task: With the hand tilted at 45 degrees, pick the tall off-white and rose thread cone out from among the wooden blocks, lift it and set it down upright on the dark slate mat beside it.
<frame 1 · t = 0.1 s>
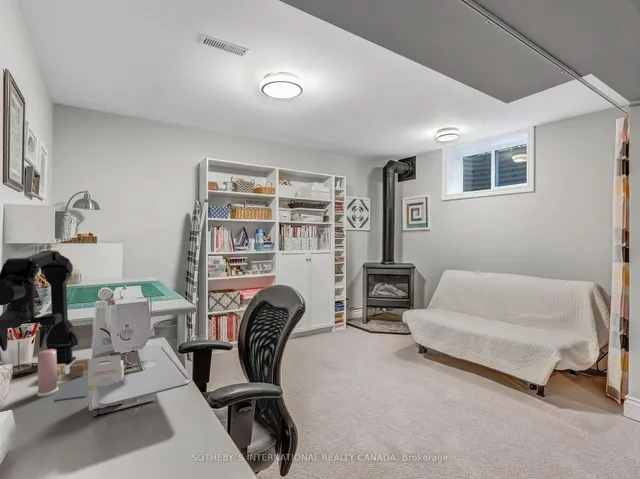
hand: (23, 348, 102), 15 cm above the table, tool pointing down, fingers open, 9 cm apart
birch block: (53, 378, 115), on the table
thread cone: (47, 392, 105), on the table
slate mat: (79, 388, 107), on the table
walnut block: (79, 373, 119), on the table
ink cartridge box: (107, 404, 97), on the table
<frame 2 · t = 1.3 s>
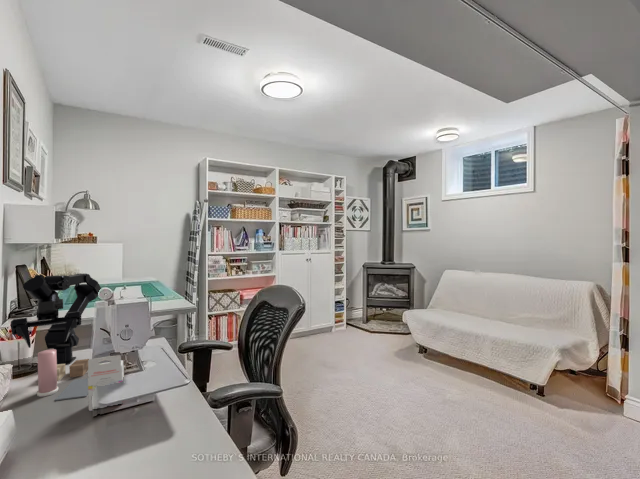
hand: (47, 344, 110), 13 cm above the table, tool tilted 45°, fingers open, 9 cm apart
nothing on the table moved.
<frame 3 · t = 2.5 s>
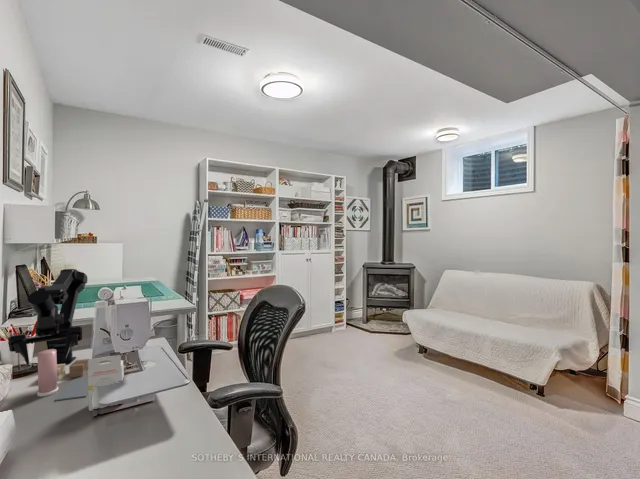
hand: (47, 361, 106), 9 cm above the table, tool tilted 45°, fingers open, 9 cm apart
nothing on the table moved.
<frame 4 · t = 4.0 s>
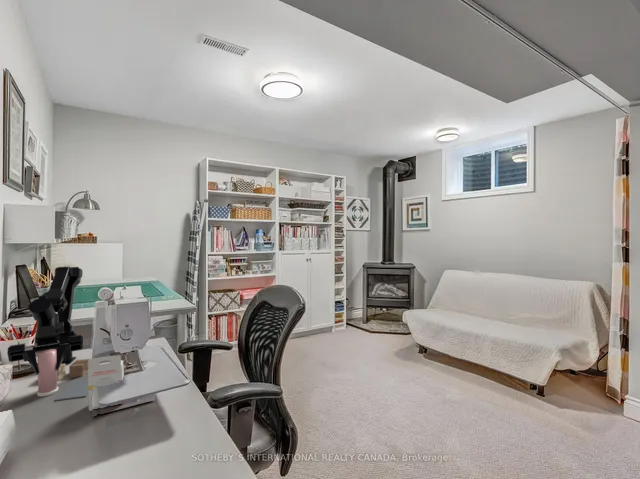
hand: (47, 371, 103), 7 cm above the table, tool tilted 45°, fingers closed on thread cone, 5 cm apart
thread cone: (47, 392, 105), on the table, touching gripper
everything else where it was.
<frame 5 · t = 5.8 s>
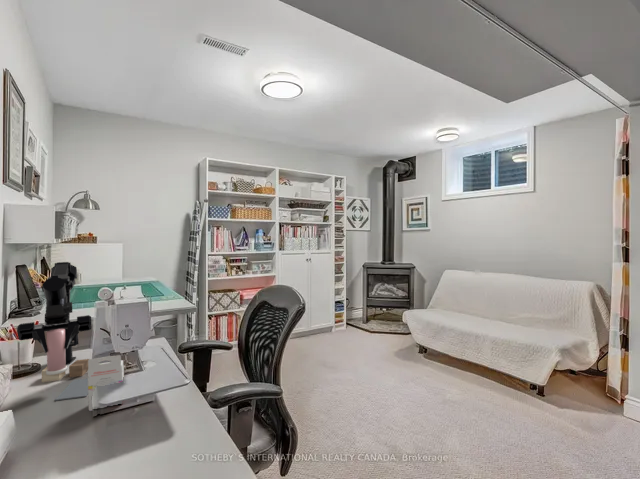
hand: (56, 350, 104), 14 cm above the table, tool tilted 45°, fingers closed on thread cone, 5 cm apart
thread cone: (56, 371, 105), point 6 cm above the table, touching gripper
everything else where it was.
when the fingers open (9 cm above the table, at t = 7.7 s): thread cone drops 1 cm, resting on slate mat.
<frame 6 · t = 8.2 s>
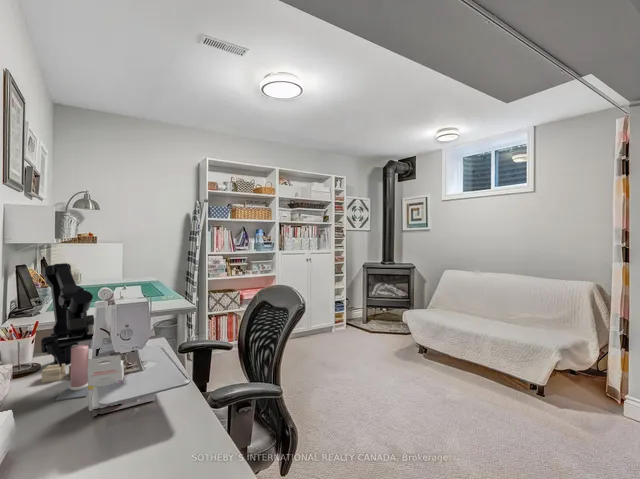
hand: (79, 362, 106), 9 cm above the table, tool tilted 45°, fingers open, 9 cm apart
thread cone: (79, 387, 107), resting on slate mat
everything else where it was.
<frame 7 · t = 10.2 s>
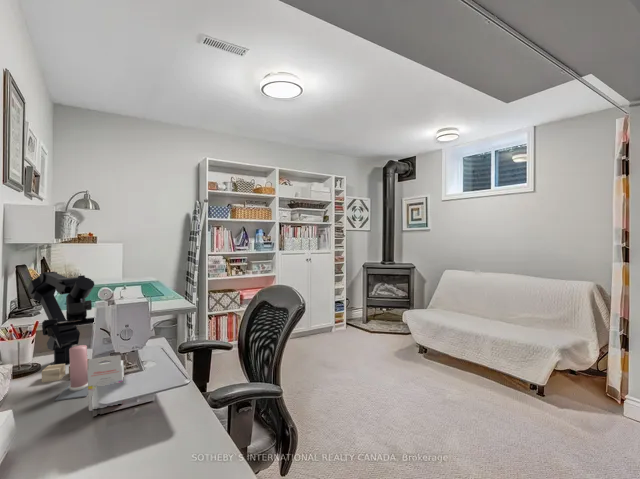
hand: (77, 344, 113), 12 cm above the table, tool tilted 45°, fingers open, 9 cm apart
nothing on the table moved.
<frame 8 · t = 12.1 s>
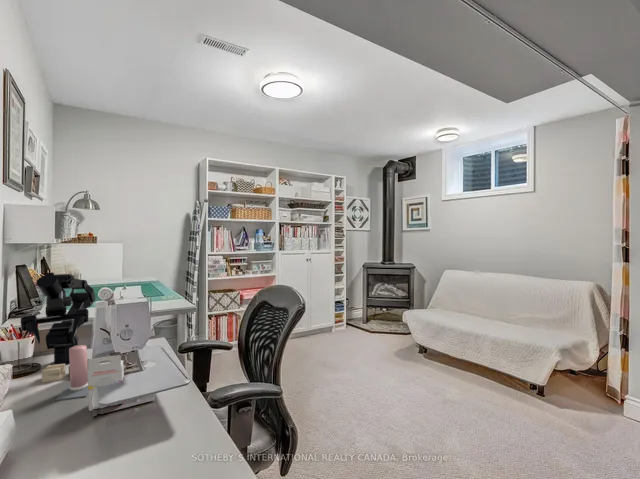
hand: (56, 340, 114), 14 cm above the table, tool tilted 45°, fingers open, 9 cm apart
nothing on the table moved.
at the end: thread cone inside the target area on the slate mat (0.0 cm from its centre), point 0.4 cm above the slate mat's base; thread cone tilted 1°; the gripper is holding nothing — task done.
